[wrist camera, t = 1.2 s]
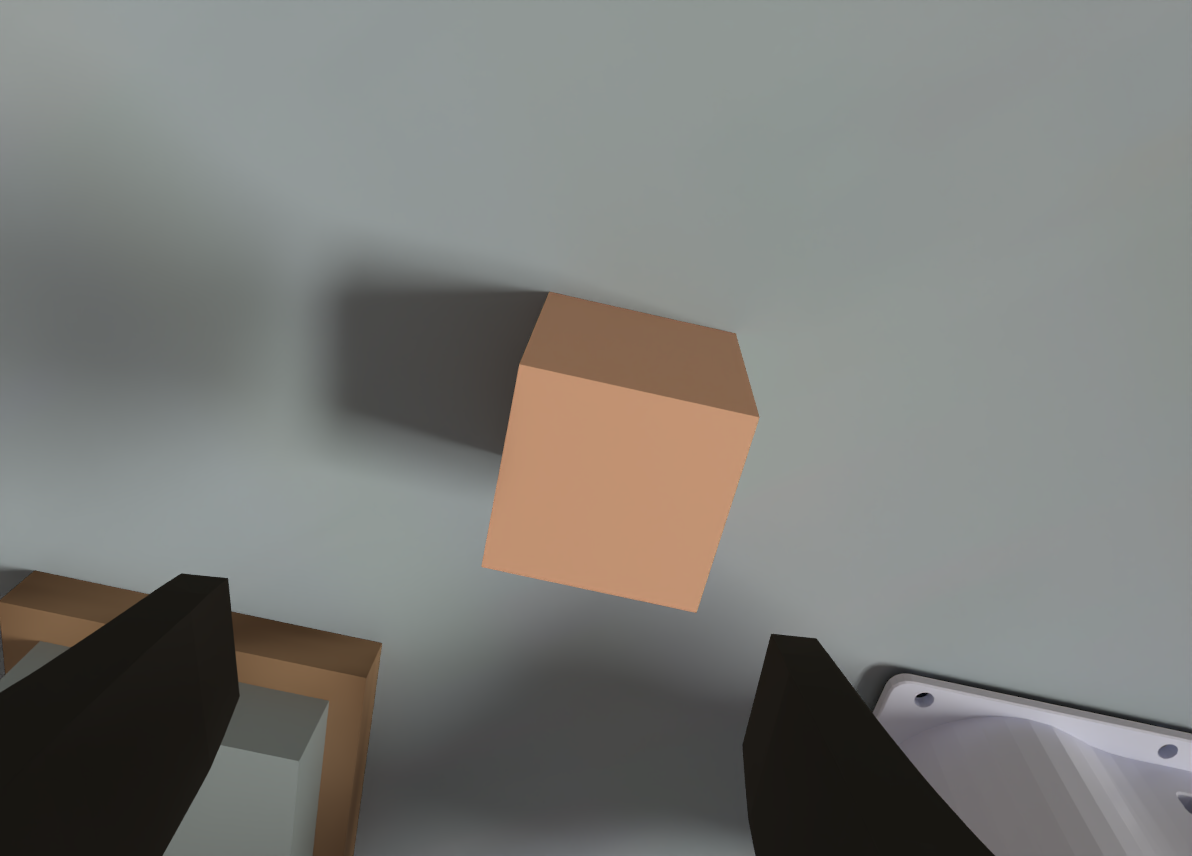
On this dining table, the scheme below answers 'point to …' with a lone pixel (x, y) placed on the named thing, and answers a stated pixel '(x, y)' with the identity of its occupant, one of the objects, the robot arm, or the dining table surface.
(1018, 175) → the dining table surface
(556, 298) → the terracotta block
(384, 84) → the dining table surface
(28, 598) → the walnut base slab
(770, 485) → the dining table surface
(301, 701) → the slate top slab
